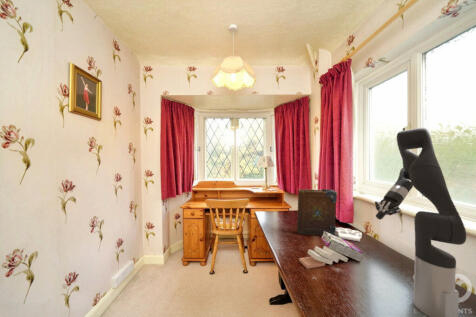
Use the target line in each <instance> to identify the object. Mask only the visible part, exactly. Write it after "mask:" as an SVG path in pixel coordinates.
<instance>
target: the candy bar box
mask: <svg viewBox="0 0 476 317" xmlns="http://www.w3.org/2000/svg"><path fill="white" fill-rule="evenodd" d="M321 241H322V242H323V243H324V244H325V246H326V247H328V248H330V249H332V250H334V251H336V252H339V253H340V254H342V255H344V256H345V257H347V258H350V259H353V260H355V261H357V262H359V263H360V262H361V261H362V259H363V257H364V252H362V251H361V249H359V248H358V247H357V246H356V245H355V244H354V243H352V242H350V241H349V240H347V239H342V238H339V237H338V236H337V235H335V236H334V235H332V234H330V233H327V232H325V231H324V233H323V235H322V236H321Z"/></svg>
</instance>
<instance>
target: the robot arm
mask: <svg viewBox="0 0 476 317" xmlns="http://www.w3.org/2000/svg"><path fill="white" fill-rule="evenodd" d="M396 143H397V147H398V150H399V154H400V156H401V160H402V168H401V169H400V171H399V175H398V178H397V180H396V182H395V183H394V184H393V185H392V186H391V187H390V188H389V189H388V191H387V192H385V193H386V194H384V196H383V199H381V200H380V201H375V202H374V204H375V209H376V210H377V213H376V215H375V217H376V219H377V220H381V221H382V220H383V219H384V218H385V217H386V216H387V215H388V216H392V215H395V214H398V213H401V212H402V209H401V208H400V206H401V204H402V203H403V202H404V201H405V199H406V197H407V196H408V194H409V192H410V191H411V190H412V189H413V188H415V190H416V191H417V192H419V193H420V194H421V195H422V196H424V198H426V199H427V200H429V202H431V204H432V205H433V206H434V207H435V208H436V210H437V212H433V211H425V210H424V211H423V210H422V211H421V210H419V211H417V212H416V213H415V215H414V276H413V277H414V278H413V305H414V306H415V308H416V309H417V310H419V311H420V312H421V313H422V314H424V315H426V316H428V317H459V301H460V300H459V298H460V292H459V290H457V289H456V277H457V276H456V274H457V273H456V272H457V260H456V257H454V255H452V254H451V253H449V252H447V251H445V250H443V249H440V248H439V247H437V246H434V245H433V244H432V241H434V242H439V243H446V244H451V245H456V246H458V245H461V246H462V245H464V244H465V243H466V241H467V232H466V228H465V224H464V222H463V219H462V218H461V215H460V214H459V211H458V209H457V208H456V205H455V204H454V201H453V200H452V197H451V195H450V192H449V189H448V186H447V182H446V179H445V176H444V174H443V171H442V168H441V166H440V164H439V161H438V158H437V156H436V153H435V150H434V146H433V141H432V136H431V134H430V131H429V130H428V128H426V127H417V128H410V129H404V130H401V131H399V132H397V134H396ZM415 149H421V150H420V152H419V155H418V154H417V153H415V152H414V151H411V150H415Z"/></svg>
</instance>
